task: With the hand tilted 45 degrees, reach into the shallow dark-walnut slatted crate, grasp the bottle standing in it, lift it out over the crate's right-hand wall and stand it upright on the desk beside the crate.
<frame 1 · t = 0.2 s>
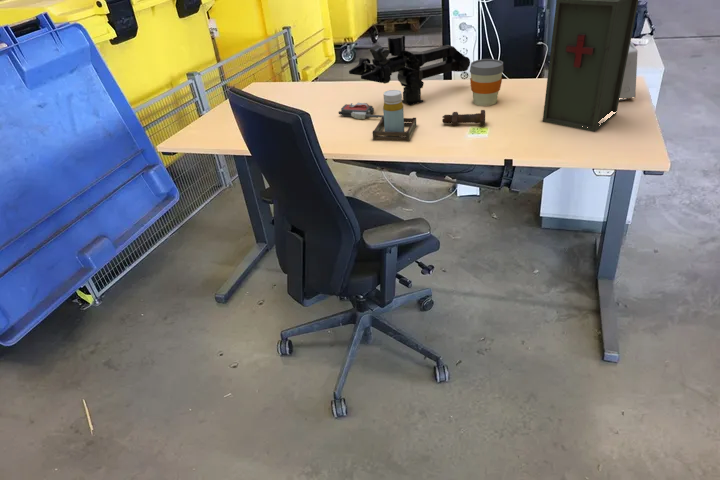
hand: (355, 74, 193), 17 cm above the table, tool horizontal, fingers open, 9 cm apart
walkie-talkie: (363, 116, 204), on the table
crate: (395, 132, 186), on the table
first aid box: (579, 118, 183), on the table
reusable coffee cup: (484, 102, 205), on the table
electrical switch box: (606, 96, 199), on the table
bolt: (463, 125, 187), on the table
bottle: (394, 134, 186), resting in crate
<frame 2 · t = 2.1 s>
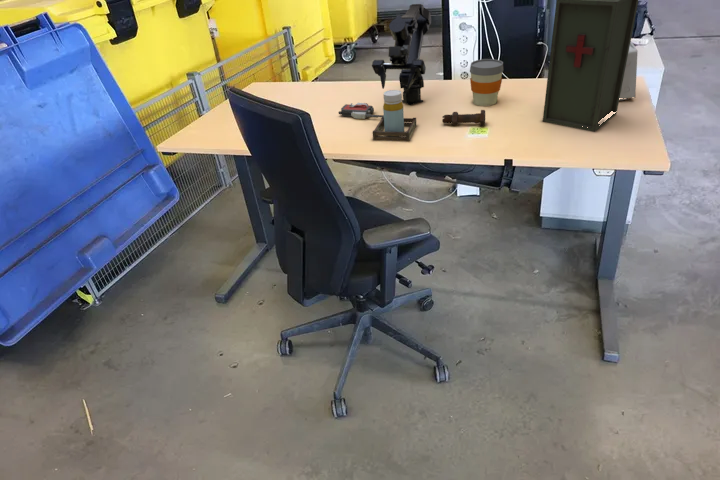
hand: (395, 88, 185), 14 cm above the table, tool tilted 45°, fingers open, 9 cm apart
nothing on the table moved.
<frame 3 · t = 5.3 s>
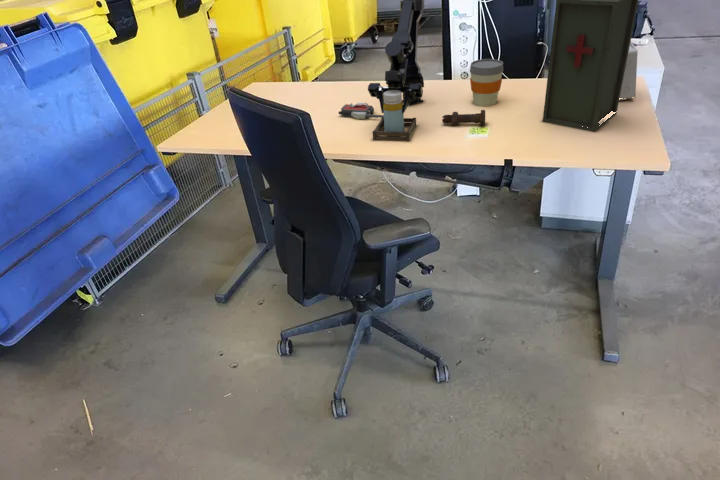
hand: (392, 112, 180), 8 cm above the table, tool tilted 45°, fingers closed on bottle, 7 cm apart
bottle: (394, 134, 186), resting in crate, touching gripper
everything else where it was.
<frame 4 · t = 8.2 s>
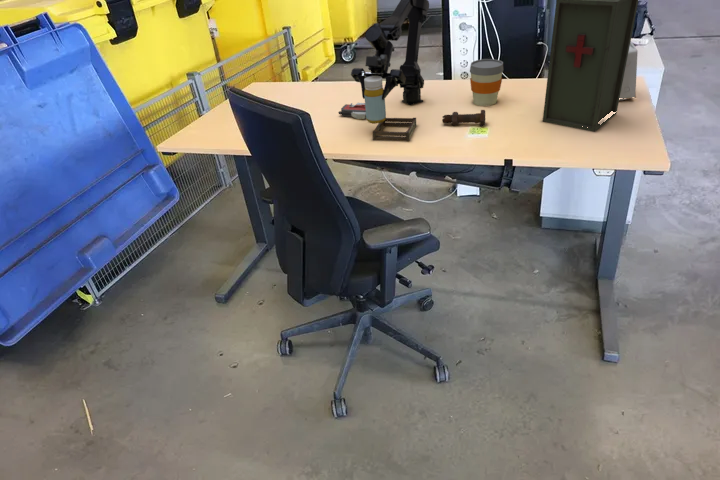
hand: (373, 98, 179), 13 cm above the table, tool tilted 45°, fingers closed on bottle, 7 cm apart
bottle: (376, 120, 185), point 5 cm above the table, touching gripper
everything else where it was.
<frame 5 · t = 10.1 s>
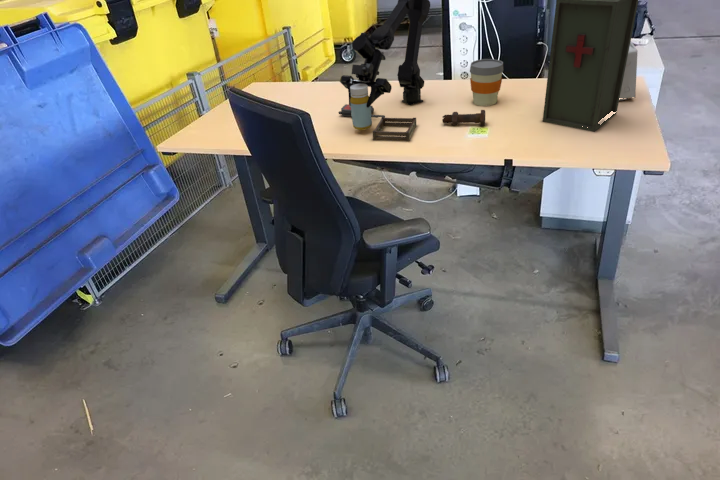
hand: (358, 106, 184), 10 cm above the table, tool tilted 45°, fingers closed on bottle, 7 cm apart
bottle: (362, 127, 189), point 2 cm above the table, touching gripper
everything else where it was.
when the fingers open (8 cm above the table, at t = 11.3 s): bottle stays where it is, on the table.
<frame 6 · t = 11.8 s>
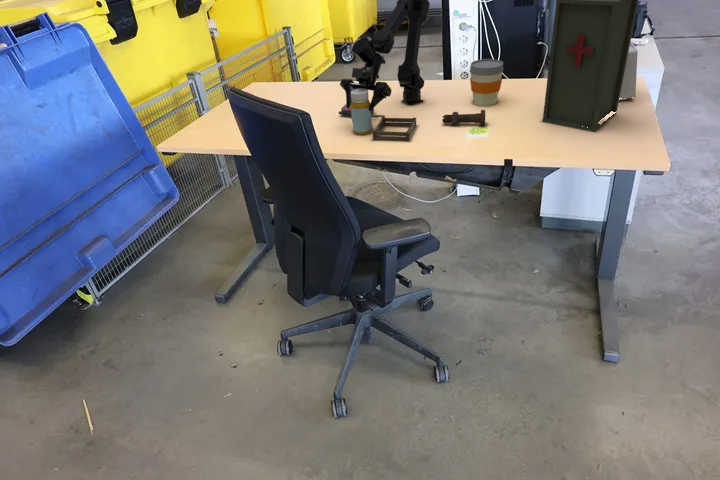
hand: (358, 109, 184), 9 cm above the table, tool tilted 45°, fingers open, 9 cm apart
bottle: (362, 132, 190), on the table
everything else where it was.
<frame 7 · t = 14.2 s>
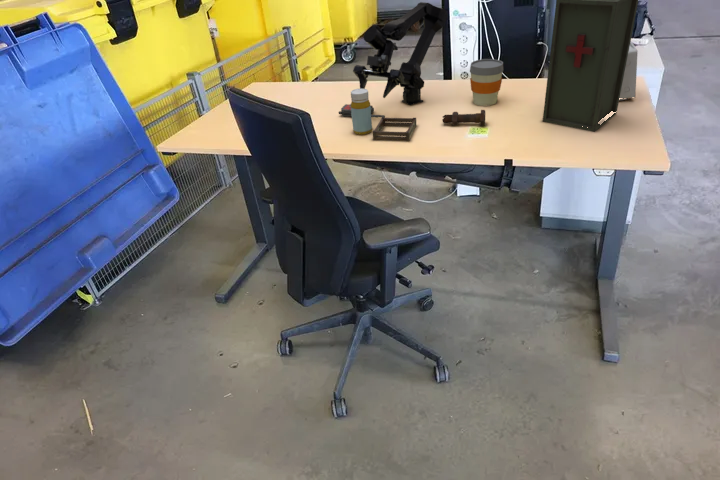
hand: (372, 96, 190), 11 cm above the table, tool tilted 40°, fingers open, 9 cm apart
nothing on the table moved.
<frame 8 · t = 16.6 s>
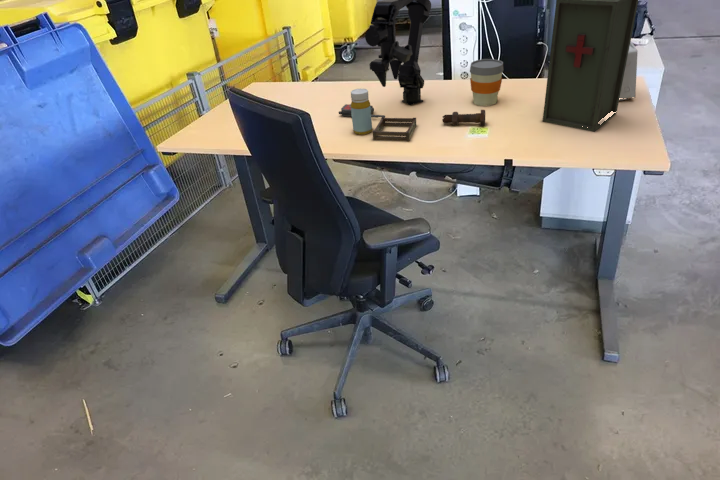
hand: (390, 82, 193), 13 cm above the table, tool pointing down, fingers open, 9 cm apart
nothing on the table moved.
at the end: bottle inside the target area (0.1 cm from its centre), on the table; bottle tilted 0°; the gripper is holding nothing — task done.
